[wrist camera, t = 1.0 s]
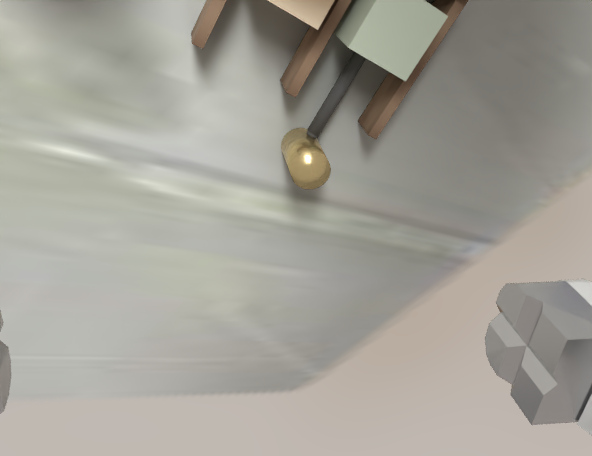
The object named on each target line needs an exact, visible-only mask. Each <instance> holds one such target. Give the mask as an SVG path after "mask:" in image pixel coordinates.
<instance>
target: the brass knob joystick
mask: <svg viewBox="0 0 592 456" xmlns="http://www.w3.org/2000/svg"><path fill="white" fill-rule="evenodd" d="M447 18H448V16H447V15H446V14H444V13H443V12H441V11H440V10H438V9H437V8H435V7H434V6H432V5H431V4H429V3H428V2H426V1H425V0H352V1H351V2H350V4H349V6H348V8H347V9H346V11H345V13H344V15H343V16H342V18H341V20H340V21H339V23H338V25H337V27H336V28H335V30H334V32H333V33H334V34H335V35H336V36H337V37H338V38H339V39H340V40H341V41H342V42H343V43H344V44H345V45H346V46H347V47H348V48H349V49H351V50H353V51H354V53H353V55H352V56H351V58H350V60H349V61H348V63H347V65H346V66H345V68H344V70H343V71H342V73H341V75H340V76H339V78H338V80H337V81H336V83H335V85H334V86H333V88H332V90H331V91H330V93H329V95H328V96H327V98H326V100H325V101H324V103H323V105H322V106H321V108H320V110H319V111H318V113H317V115H316V116H315V118H314V120H313V121H312V123H311V125H310V126H309V128H308V129H305V128H296V129H293V130H291V131H289V132H288V133H287V134H286V135H285V136H284V138H283V140H282V144H281V149H282V152H283V155H284V157H285V160H286V163H287V165H288V168H289V171H290V174H291V176H292V179H293V181H294V183H295V184H296V185H297V186H299V187H301V188H303V189H315V188H318V187H320V186H322V185H323V184H324V183H325V182H326V181H327V180H328V178H329V176H330V171H331V168H330V164H329V162H328V160H327V158H326V156H325V154H324V152H323V150H322V148H321V146H320V144H319V142H318V141H317V139H316V138H317V137H318V136H319V134H320V133H321V131H322V129H323V128H324V126H325V124H326V123H327V121H328V119H329V118H330V116H331V115H332V113H333V111H334V110H335V108H336V106H337V105H338V103H339V101H340V100H341V98H342V97H343V95H344V93H345V92H346V90H347V88H348V87H349V85H350V84H351V82H352V80H353V79H354V77H355V75H356V74H357V72H358V70H359V69H360V67H361V66H362V64H363V62H364V61H365V59H368V60H370V61H372V62H373V63H375V64H377V65H378V66H380V67H382V68H383V69H385V70H387V71H389V72H390V73H392V74H394V75H395V76H397V77H399V78H400V79H402V80H404V81H406V80H407V79H408V77H409V76H410V74H411V73H412V71H413V70H414V68H415V66H416V65H417V63H418V62H419V60H420V59H421V57H422V56H423V54H424V53H425V51H426V50H427V48H428V47H429V45H430V44H431V42H432V40H433V39H434V37H435V36H436V34H437V33H438V31H439V30H440V28H441V27H442V25H443V24H444V22H445V21H446V19H447Z"/></svg>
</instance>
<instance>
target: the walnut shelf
mask: <svg viewBox="0 0 592 456" xmlns="http://www.w3.org/2000/svg"><path fill="white" fill-rule="evenodd" d="M351 1H352V0H335V1H334V2H333V4H332V6H331V8H330V9H329V11H328V13H327V15H326V16H325V18H324V20H323V22H322V24H321V25H320V27H319V29H318V30H317V29H315V28H314V27H312V26H310V27H309V29H308V31H307V33H306V34H305V36H304V38H303V40H302V42H301V43H300V45H299V47H298V49H297V51H296V52H295V54H294V56H293V58H292V60H291V61H290V63H289V65H288V67H287V69H286V70H285V72H284V74H283V76H282V78H281V79H280V81H281V83H282V85H283V87H284V89H285V91H286V93H288V94H290V95H292V96H294V97H296V96H297V94H298V93H299V91H300V89H301V87H302V86H303V84H304V82H305V80H306V79H307V77H308V75H309V73H310V72H311V70H312V68H313V67H314V65H315V63H316V61H317V60H318V58H319V56H320V54H321V53H322V51H323V49H324V47H325V46H326V44H327V42H328V41H329V39H330V37H331V35H332V34H333V32H334V30H335V28H336V27H337V25H338V23H339V21H340V20H341V18H342V16H343V15H344V13H345V11H346V9H347V8H348V6H349V4H350V2H351ZM225 2H226V0H207V1H206V3H205V5H204V7H203V9H202V11H201V13H200V15H199V18H198V20H197V22H196V24H195V26H194V28H193V30H192V33H191V36H192V44H194V45H196V46H198V47H200V48H202V49H203V48H204V46H205V44H206V42H207V40H208V37H209V35H210V33H211V31H212V29H213V27H214V25H215V23H216V21H217V19H218V17H219V15H220V13H221V11H222V9H223V6H224V4H225ZM467 2H468V0H435V1H434V2H433V4H432V6H434V7H435V8H437V9H438V10H440V11H441V12H443V13H444V14H446V15H447V16H448V18H447V19H446V21H445V22H444V24H443V25H442V27H441V28H440V30H439V31H438V33H437V34H436V36H435V37H434V39H433V40H432V42H431V44H430V45H429V47H428V48H427V50H426V51H425V53H424V54H423V56H422V57H421V59H420V60H419V62H418V63H417V65H416V66H415V68H414V70H413V71H412V73H411V74H410V76H409V77H408V79H407V80H406V81H404V80H402V79H400V78H399V77H397V76H395V75H394V74H392V73H390V72H389V73H388V74H387V76H386V78H385V79H384V81H383V82H382V84H381V85H380V87H379V89H378V90H377V92H376V93H375V95H374V96H373V98H372V100H371V101H370V103H369V104H368V106H367V107H366V109H365V110H364V112H363V114H362V115H361V117H360V118H359V120H358V122H359V123H360V125H361V126H362V127H363V129H364V130H365V132H366V133H367V134H368V135H369V136H371V137H373V138H375V139H377V137H378V136H379V134H380V133H381V131H382V130H383V128H384V127H385V125H386V124H387V122H388V121H389V119H390V118H391V116H392V115H393V113H394V112H395V110H396V109H397V107H398V106H399V104H400V103H401V101H402V100H403V98H404V97H405V95H406V94H407V92H408V91H409V89H410V88H411V86H412V85H413V83H414V81H415V80H416V78H417V77H418V75H419V74H420V72H421V71H422V69H423V68H424V66H425V65H426V63H427V62H428V60H429V59H430V57H431V56H432V54H433V53H434V51H435V50H436V48H437V47H438V45H439V44H440V42H441V41H442V39H443V38H444V36H445V35H446V33H447V32H448V30H449V29H450V27H451V26H452V24H453V23H454V21H455V20H456V18H457V17H458V15H459V14H460V12H461V11H462V9H463V8H464V6H465V5H466V3H467Z"/></svg>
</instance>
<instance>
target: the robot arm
mask: <svg viewBox="0 0 592 456" xmlns="http://www.w3.org/2000/svg"><path fill="white" fill-rule="evenodd" d="M496 304H497V306H498V308H499V310H500V312H501V313H499V314H498V316H496V317H495V318H494V319H493V320H492V321H491V322H490V323H489V326H488V330H487V333H486V337H485V345H486V354H487V357H488V360H489V362H490V365H491V366H492V368H493V370H494V371H495V373H496V374H497V376H499V377H501V378H502V379H504V380H506V381H508V382H509V383H510V384H512V389H511V396H512V397H513V399H514V400H515V402H516V403H517V405H518V406H519V408H520V409H521V410H522V412H523V413H524V415H525V416H526V418H527V419H528V420H529V422H530V423H531V425H537V424H551V423H569V422H578V423H577V425H578V426H580V427H581V428H583V429H584V430H585V431H587V432H588V433H589V434H591V435H592V282H591V281H588V280H585V279H576V280H560V281H557V282H533V283H510V284H506V285H505V286H504V287H503V288H502V290H501V291H500V293H499V296H498V299H497V301H496ZM2 326H3V319H2V315H1V311H0V331H1V328H2ZM10 382H11V359H10V354H9V348H8V346H6V345H5V344H4V343H3V342H1V341H0V414H1V413H2V412H3V411H4V409H5V406H6V403H7V399H8V396H9V390H10Z"/></svg>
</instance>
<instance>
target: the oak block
mask: <svg viewBox="0 0 592 456" xmlns="http://www.w3.org/2000/svg"><path fill="white" fill-rule="evenodd" d="M268 1H269V2H271V3H273V4H274V5H276V6H278V7H279V8H281V9H283V10H285V11H286V12H288V13H290V14H291V15H293V16H295V17H297V18H298V19H300V20H302V21H303V22H305V23H307V24H308V25H310V26H312V27H314V28H315V29H317V30H318V29H319V27H320V25H321V24H322V22H323V20H324V18H325V16H326V15H327V13H328V11H329V9H330V8H331V6H332V4H333V2H334V1H335V0H268Z"/></svg>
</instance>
